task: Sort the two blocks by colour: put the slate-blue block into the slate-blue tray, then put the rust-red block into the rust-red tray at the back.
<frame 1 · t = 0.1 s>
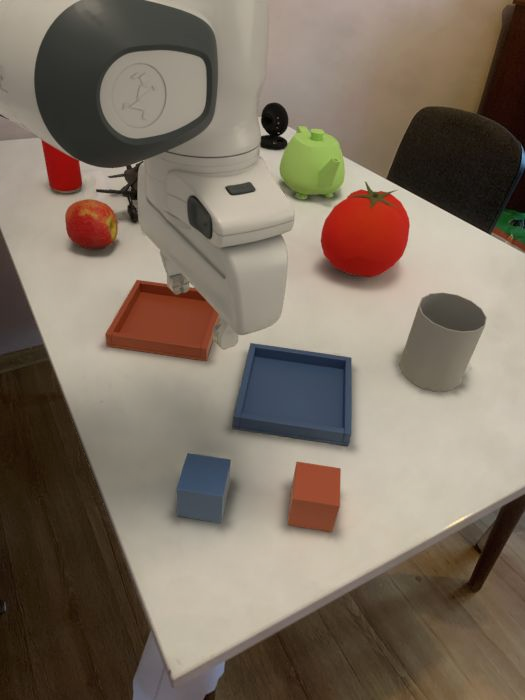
hand: (200, 315, 51), 17 cm above the table, tool pointing down, fingers open, 8 cm apart
teapot: (309, 190, 117), on the table
beverage can: (66, 189, 108), on the table
apple: (93, 247, 92), on the table
webcam: (272, 145, 137), on the table
rust block: (311, 509, 55), on the table
rust tray: (169, 323, 77), on the table
blue block: (203, 500, 55), on the table
cup: (429, 371, 74), on the table
tomato: (356, 271, 93), on the table
airplane toy: (149, 210, 104), on the table
blue tray: (294, 396, 68), on the table
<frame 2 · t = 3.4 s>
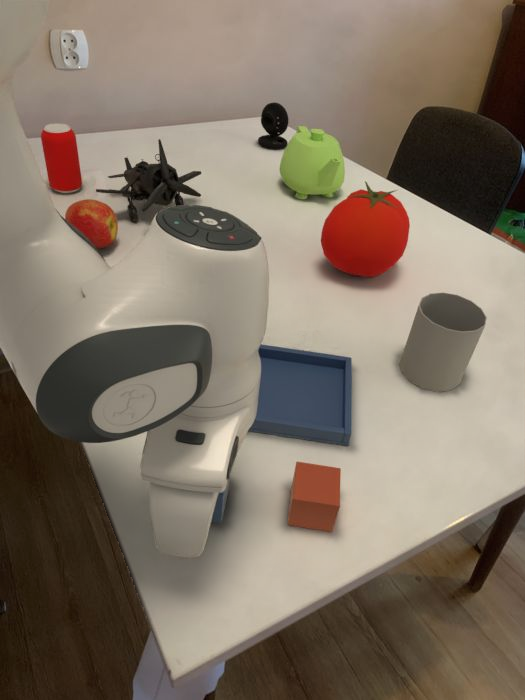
hand: (204, 491, 54), 2 cm above the table, tool pointing down, fingers closed on blue block, 4 cm apart
blue block: (204, 500, 55), on the table, touching gripper
everything else where it was.
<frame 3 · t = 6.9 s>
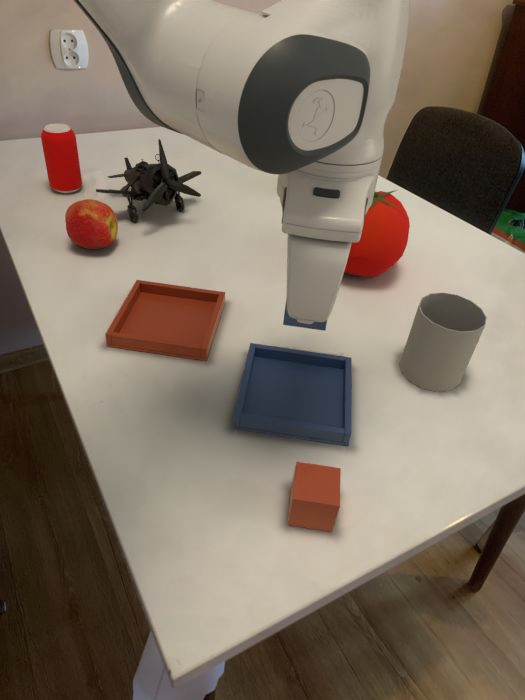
hand: (307, 303, 57), 15 cm above the table, tool pointing down, fingers closed on blue block, 4 cm apart
blue block: (305, 315, 58), point 13 cm above the table, touching gripper
everything else where it was.
when the fingers open (2 cm above the table, at t = 10.3 s): blue block stays where it is, resting on blue tray.
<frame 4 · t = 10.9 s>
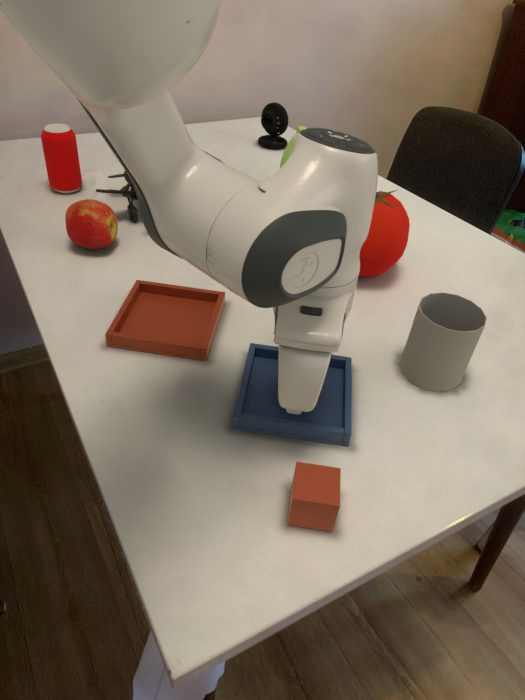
hand: (296, 382, 66), 3 cm above the table, tool pointing down, fingers open, 8 cm apart
blue block: (295, 393, 68), resting on blue tray
everything else where it was.
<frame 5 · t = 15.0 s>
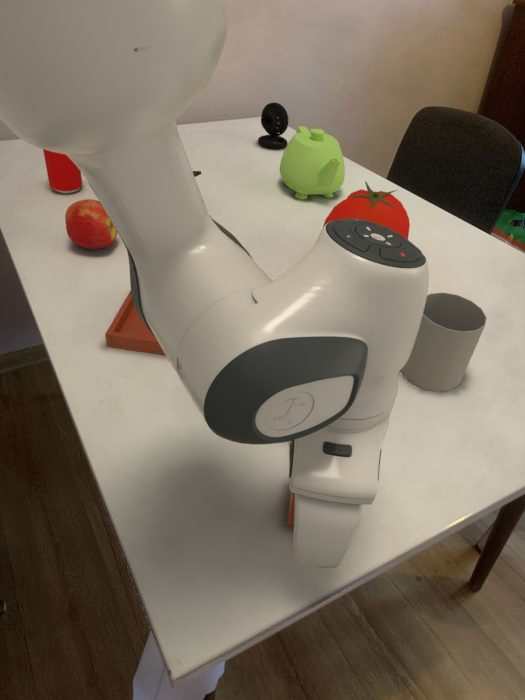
hand: (313, 500, 54), 2 cm above the table, tool pointing down, fingers closed on rust block, 4 cm apart
rust block: (311, 509, 55), on the table, touching gripper
everything else where it was.
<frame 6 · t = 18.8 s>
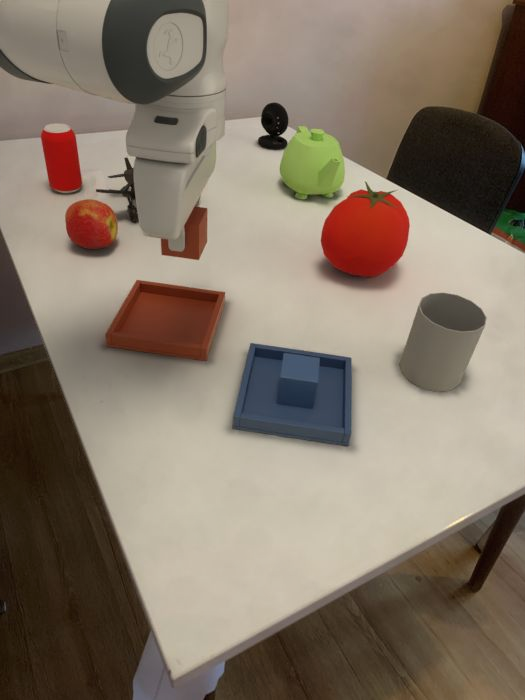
hand: (184, 236, 64), 16 cm above the table, tool pointing down, fingers closed on rust block, 4 cm apart
rust block: (184, 248, 65), point 15 cm above the table, touching gripper
everything else where it was.
when the fingers open (2 cm above the table, at t = 22.9 s): rust block stays where it is, resting on rust tray.
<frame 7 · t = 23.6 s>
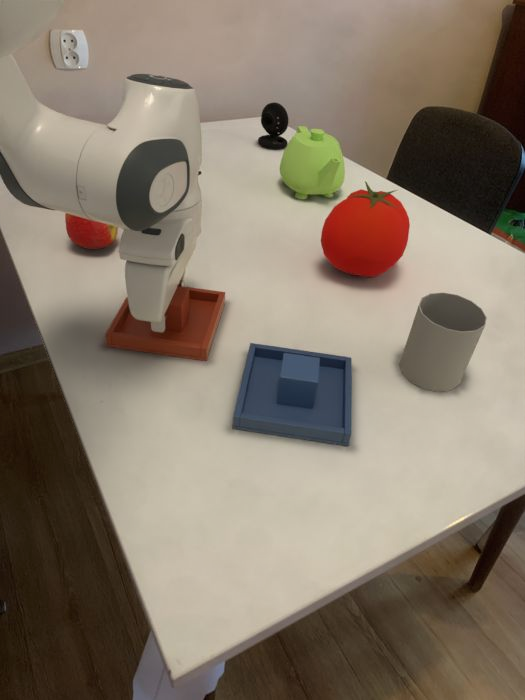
hand: (168, 308, 75), 3 cm above the table, tool pointing down, fingers open, 8 cm apart
rust block: (170, 320, 77), resting on rust tray
everything else where it was.
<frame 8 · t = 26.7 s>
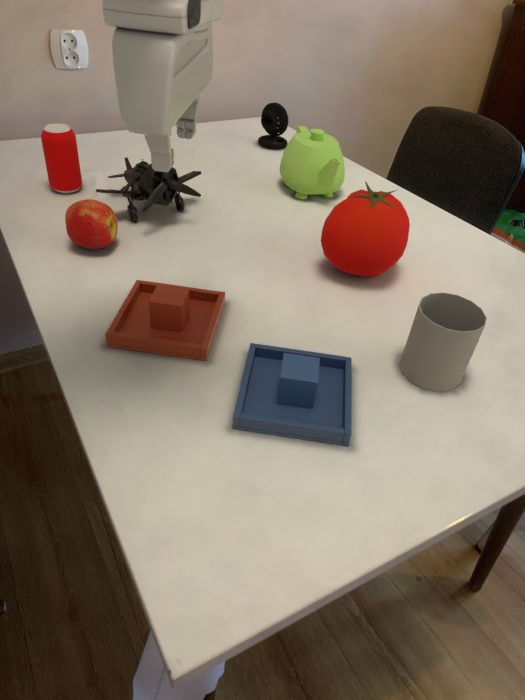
hand: (175, 151, 55), 27 cm above the table, tool pointing down, fingers open, 8 cm apart
nothing on the table moved.
at the end: blue block inside the target area in the blue tray (0.1 cm from its centre), point 0.5 cm above the blue tray's base; rust block inside the target area in the rust tray (0.1 cm from its centre), point 0.5 cm above the rust tray's base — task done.
